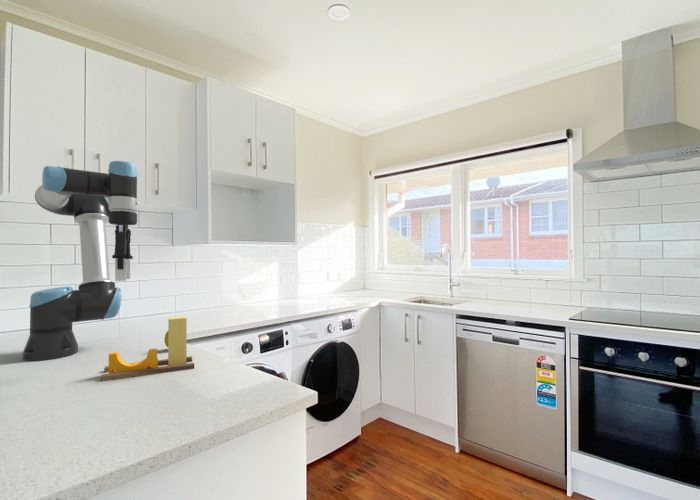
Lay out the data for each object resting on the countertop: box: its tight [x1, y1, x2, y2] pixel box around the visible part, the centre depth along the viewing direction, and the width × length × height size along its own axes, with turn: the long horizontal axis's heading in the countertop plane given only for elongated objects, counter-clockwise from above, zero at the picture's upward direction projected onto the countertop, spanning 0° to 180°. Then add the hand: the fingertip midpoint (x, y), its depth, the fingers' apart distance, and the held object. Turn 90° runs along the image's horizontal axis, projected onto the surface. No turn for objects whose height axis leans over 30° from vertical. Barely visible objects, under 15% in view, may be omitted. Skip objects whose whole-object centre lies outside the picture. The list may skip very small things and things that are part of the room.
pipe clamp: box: [108, 348, 159, 374], centre depth 110 cm, size 12×4×6 cm, turn 109°
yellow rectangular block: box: [167, 316, 188, 366], centre depth 115 cm, size 4×5×15 cm
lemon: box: [164, 330, 168, 348], centre depth 135 cm, size 6×6×8 cm
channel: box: [99, 355, 195, 382], centre depth 112 cm, size 10×24×1 cm, turn 118°
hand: (123, 280), depth 114 cm, fingers open, 13 cm apart
